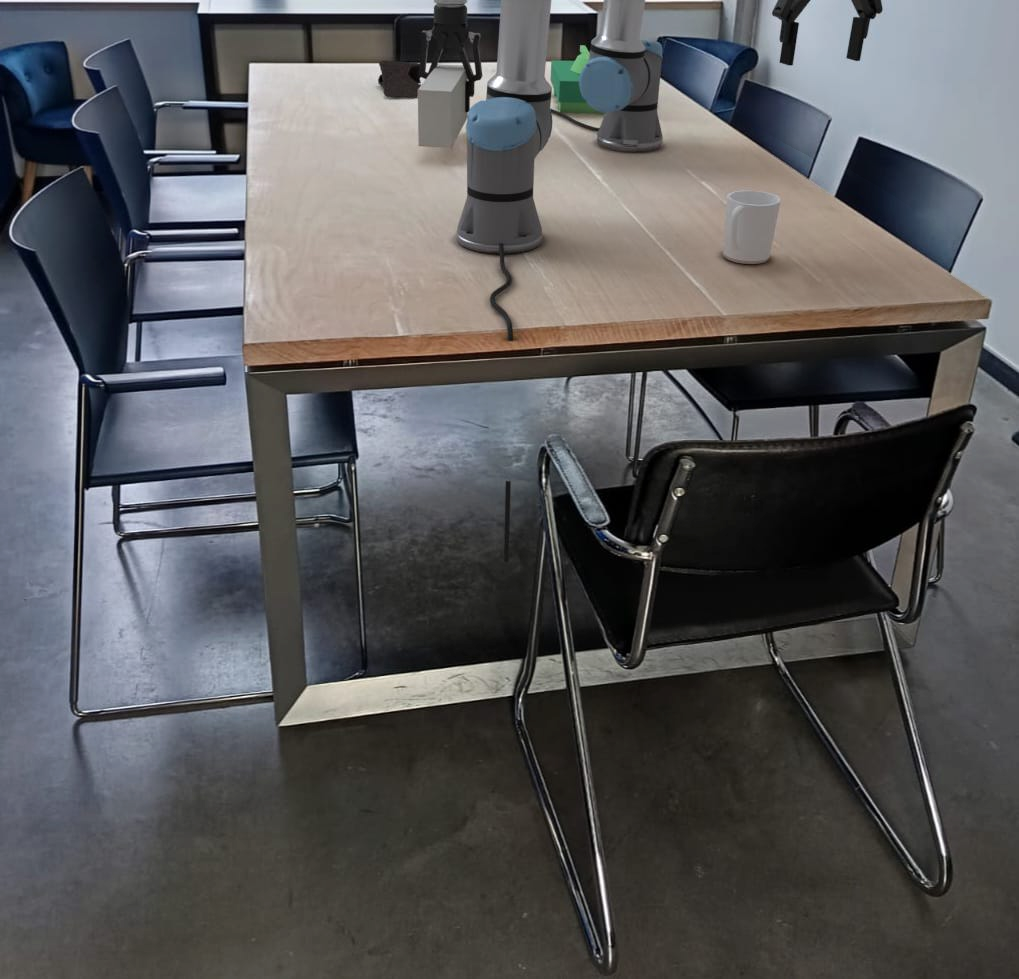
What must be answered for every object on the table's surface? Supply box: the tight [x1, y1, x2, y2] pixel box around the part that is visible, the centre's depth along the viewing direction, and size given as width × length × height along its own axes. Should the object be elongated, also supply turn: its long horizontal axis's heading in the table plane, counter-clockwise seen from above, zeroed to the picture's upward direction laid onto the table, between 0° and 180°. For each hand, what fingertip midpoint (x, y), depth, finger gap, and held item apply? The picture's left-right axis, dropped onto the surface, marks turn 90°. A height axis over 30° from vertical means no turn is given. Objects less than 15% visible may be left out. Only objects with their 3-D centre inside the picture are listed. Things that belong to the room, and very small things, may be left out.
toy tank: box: [550, 44, 605, 115], centre depth 290 cm, size 18×12×35 cm
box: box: [417, 63, 468, 149], centre depth 246 cm, size 28×7×12 cm, turn 175°
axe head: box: [377, 59, 422, 99], centre depth 299 cm, size 18×8×15 cm
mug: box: [722, 189, 782, 265], centre depth 187 cm, size 11×9×10 cm
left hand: (819, 62), depth 183 cm, fingers open, 13 cm apart
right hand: (450, 109), depth 257 cm, fingers closed on box, 7 cm apart
